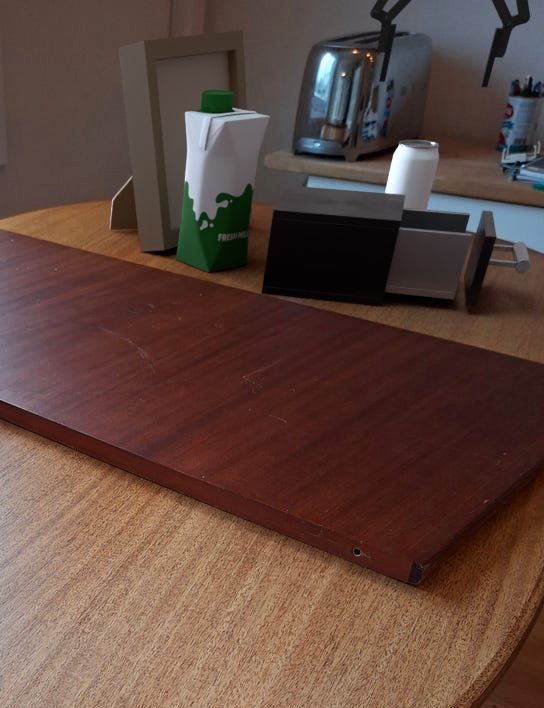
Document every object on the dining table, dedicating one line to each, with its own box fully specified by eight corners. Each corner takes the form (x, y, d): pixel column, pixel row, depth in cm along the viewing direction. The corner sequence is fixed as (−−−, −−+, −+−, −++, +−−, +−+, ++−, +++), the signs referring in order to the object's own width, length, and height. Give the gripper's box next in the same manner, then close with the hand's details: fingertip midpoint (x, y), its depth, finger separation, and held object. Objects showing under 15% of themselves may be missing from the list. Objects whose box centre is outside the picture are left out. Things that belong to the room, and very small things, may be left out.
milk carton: (213, 249, 126) (231, 87, 114) (257, 265, 121) (281, 96, 108) (166, 259, 123) (179, 92, 110) (208, 276, 117) (227, 102, 104)
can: (414, 239, 131) (436, 149, 124) (371, 233, 134) (390, 144, 126) (425, 229, 136) (447, 142, 128) (383, 223, 138) (402, 137, 131)
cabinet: (387, 274, 118) (405, 194, 112) (381, 306, 108) (401, 220, 102) (276, 263, 122) (288, 185, 115) (261, 293, 112) (273, 209, 105)
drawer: (512, 280, 113) (534, 214, 108) (518, 311, 104) (542, 241, 99) (366, 265, 118) (380, 201, 113) (359, 294, 108) (374, 226, 103)
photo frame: (251, 228, 136) (277, 32, 120) (163, 257, 123) (179, 44, 108) (175, 211, 144) (190, 25, 128) (86, 237, 131) (90, 35, 115)
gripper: (584, -116, 109) (526, 84, 122) (377, -116, 115) (343, 75, 129) (592, -118, 103) (529, 92, 117) (374, -118, 110) (339, 81, 123)
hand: (432, 83), depth 123 cm, fingers open, 13 cm apart
